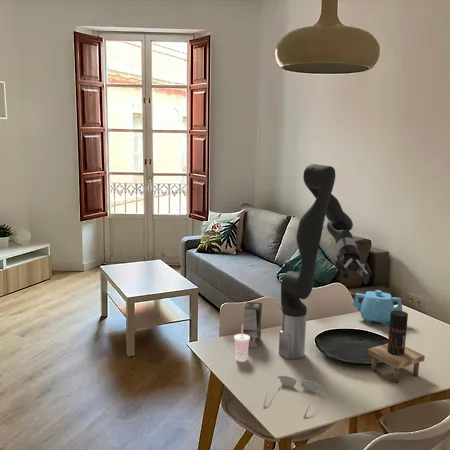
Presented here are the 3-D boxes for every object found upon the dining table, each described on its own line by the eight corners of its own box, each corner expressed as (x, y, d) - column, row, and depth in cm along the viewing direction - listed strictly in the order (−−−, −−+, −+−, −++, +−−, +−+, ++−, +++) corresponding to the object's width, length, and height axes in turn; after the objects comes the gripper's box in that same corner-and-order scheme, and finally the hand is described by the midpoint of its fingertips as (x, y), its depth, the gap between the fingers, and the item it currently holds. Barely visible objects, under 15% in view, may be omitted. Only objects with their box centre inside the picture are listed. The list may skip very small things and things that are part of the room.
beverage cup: (252, 360, 203) (253, 325, 201) (238, 363, 200) (239, 328, 197) (243, 354, 208) (244, 320, 206) (230, 357, 205) (231, 323, 203)
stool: (395, 385, 186) (397, 363, 185) (366, 368, 198) (368, 348, 197) (422, 376, 193) (424, 355, 192) (393, 360, 205) (394, 341, 204)
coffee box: (258, 347, 215) (259, 309, 211) (242, 346, 216) (243, 308, 213) (261, 338, 223) (262, 302, 220) (246, 337, 225) (247, 301, 221)
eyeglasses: (320, 394, 180) (321, 383, 179) (306, 421, 164) (307, 409, 163) (277, 384, 186) (277, 374, 185) (260, 409, 170) (260, 398, 169)
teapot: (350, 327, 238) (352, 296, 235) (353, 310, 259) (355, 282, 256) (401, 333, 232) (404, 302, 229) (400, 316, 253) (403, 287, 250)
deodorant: (402, 357, 190) (405, 317, 187) (385, 352, 193) (388, 313, 190) (406, 351, 195) (409, 312, 192) (389, 347, 198) (393, 309, 195)
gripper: (336, 239, 207) (345, 268, 195) (368, 248, 211) (378, 277, 198) (327, 253, 212) (335, 282, 199) (358, 262, 215) (368, 290, 202)
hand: (357, 279), depth 199 cm, fingers open, 8 cm apart
